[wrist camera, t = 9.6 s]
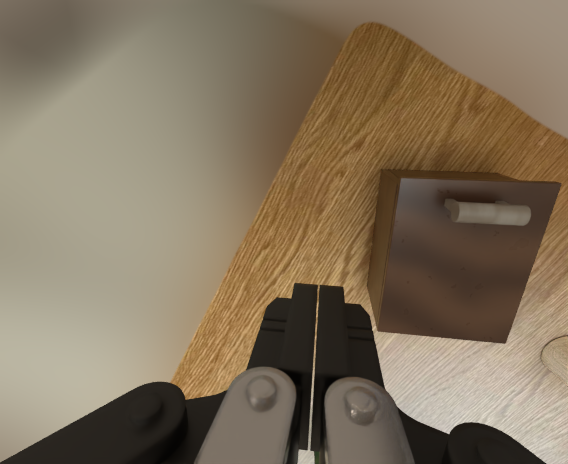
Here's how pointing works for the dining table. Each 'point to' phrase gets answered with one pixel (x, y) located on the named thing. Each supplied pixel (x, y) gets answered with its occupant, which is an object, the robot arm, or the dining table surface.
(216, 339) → the dining table surface
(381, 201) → the chest
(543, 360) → the beer glass
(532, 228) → the lid
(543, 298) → the dining table surface
